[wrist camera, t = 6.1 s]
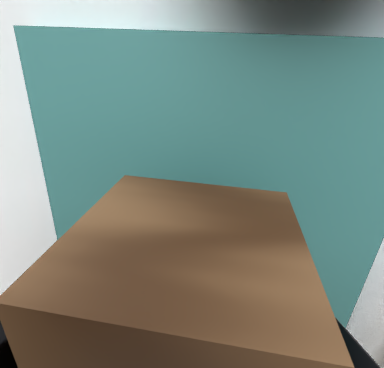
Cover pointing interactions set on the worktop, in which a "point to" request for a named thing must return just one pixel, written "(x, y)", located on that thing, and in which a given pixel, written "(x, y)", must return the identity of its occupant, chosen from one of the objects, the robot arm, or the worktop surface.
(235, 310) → the walnut block
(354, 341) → the robot arm
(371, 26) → the worktop surface
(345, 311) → the plate
